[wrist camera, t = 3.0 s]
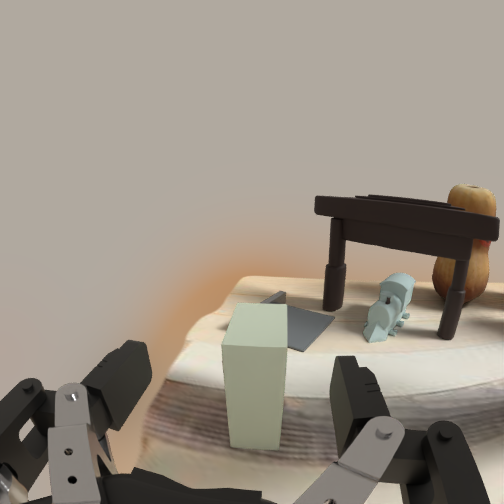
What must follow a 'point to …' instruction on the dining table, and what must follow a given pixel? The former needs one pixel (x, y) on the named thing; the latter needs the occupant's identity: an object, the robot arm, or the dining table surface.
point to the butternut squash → (478, 267)
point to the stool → (406, 239)
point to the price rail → (276, 298)
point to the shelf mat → (304, 327)
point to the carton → (255, 374)
